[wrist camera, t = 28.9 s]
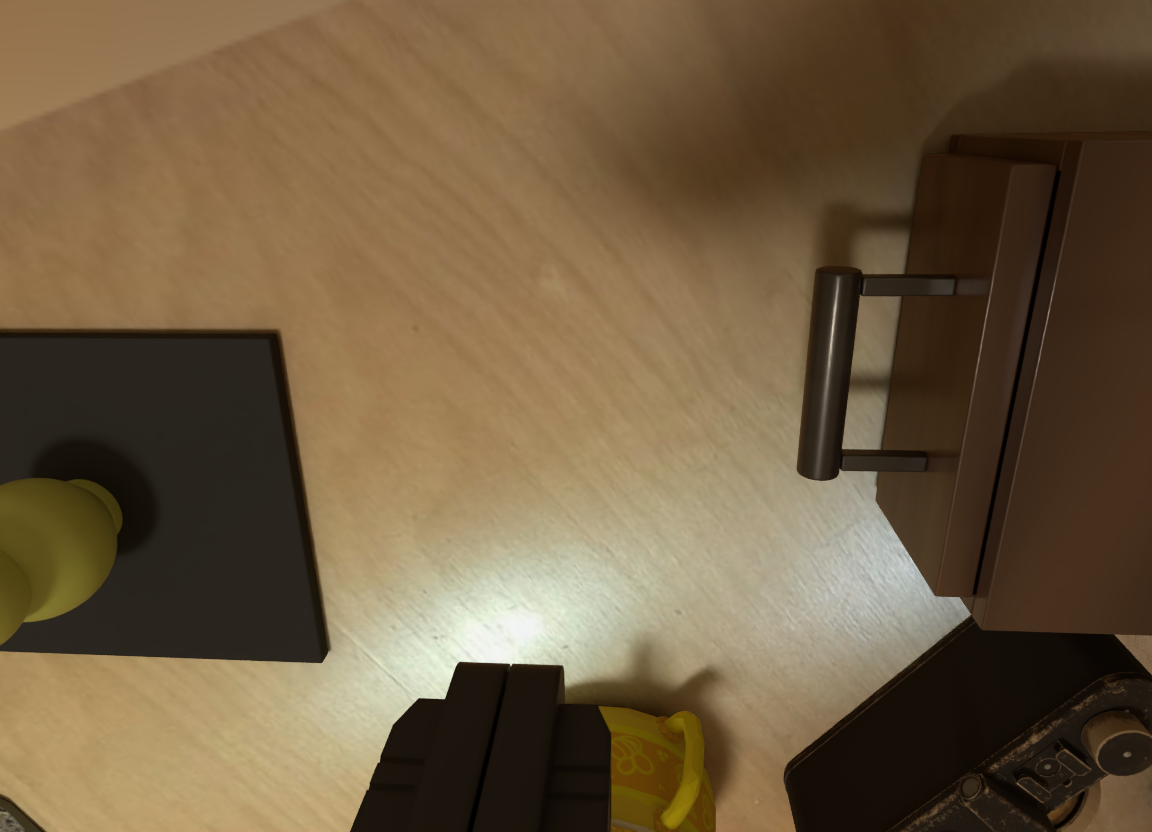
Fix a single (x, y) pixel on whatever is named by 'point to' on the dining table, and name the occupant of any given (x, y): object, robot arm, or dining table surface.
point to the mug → (658, 773)
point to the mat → (170, 491)
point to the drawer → (938, 358)
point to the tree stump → (14, 819)
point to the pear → (53, 547)
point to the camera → (983, 739)
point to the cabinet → (1079, 402)
